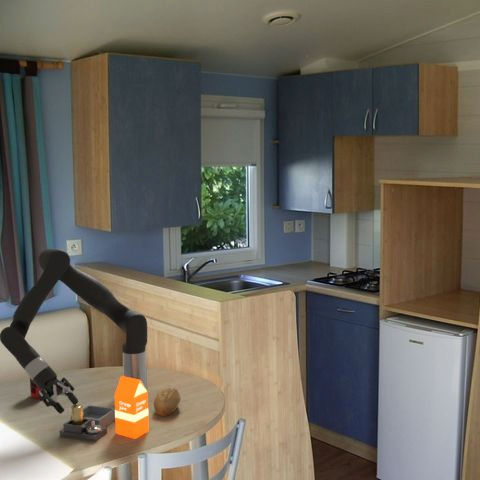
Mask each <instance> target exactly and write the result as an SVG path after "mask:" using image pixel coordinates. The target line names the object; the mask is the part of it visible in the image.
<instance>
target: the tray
mask: <svg viewBox="0 0 480 480" xmlns="http://www.w3.org/2000/svg"><path fill="white" fill-rule="evenodd" d="M83 414H84V418H87V419H92V421H95V425H100V426H101V427H107V426H109V425H110V424H112V423H113V422H114V421H115V407H114V408H113V407H107V406H100V405H93V404H88V405H87V406H84V407H83ZM70 418H71V419H72V415H71V417H70ZM71 419H70V420H71Z"/></svg>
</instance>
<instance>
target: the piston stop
mask: <svg viewBox="0 0 480 480" xmlns="http://www.w3.org/2000/svg"><path fill="white" fill-rule="evenodd" d="M83 408H84V405H83V404H79V403H77V404H76V405H73V404H72V405H71V409H70V410H71V416H72V425H79V426H81V425H82V424H84V414H83Z"/></svg>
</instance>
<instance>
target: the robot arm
mask: <svg viewBox="0 0 480 480" xmlns="http://www.w3.org/2000/svg"><path fill="white" fill-rule="evenodd" d="M38 264H39V267H40V268H41V270H43V272H42V273H41V275H40V277H39V279H38V280H37V281H36V283H34V285H33V286H32V287H31V288H30V289H29V290H28V292H27V293H26V294H25V295H24V296H23V297H22V299H21V300H20V302H19V304H18V305H17V307H16V309H15V311H14V313H13V315H12V322H11V323H10V326H6V327H4V328H3V329H1V331H0V343H1V344H2V346H3V347H5V349H6V350H7V351H8V352H10V354H11V355H12V356H13V357H14V358H15V360H16V361H17V362H18V364H19V365H20V367H21V368H23V370H24V371H25V373H26V374H27V376H28V377H29V379H30V378H31V379H32V381H33V382H34V383H35V384H36V385H37V387H38V388H39V389H42V390H41V391H40V392H39V393H38V395H39V397H40V398H41V399H40V400H42V403H44V405H45V406H46V408H47V407H48V408H49V407H53V408H54V409H55V411H56V412H57V413H59V414H60V415H61V414H63V413H64V412H65V408H64V407H63V406H62V404H61V403H60V402H59V401H58V399H57V398H58V396H65V397H67V399H68V400H69V401H70V402H71V404H72V406H73V405H78V404H79V399H78V398H77V397H76V395H75V394H74V390H75V389H76V388H75V387H74V386H73V385H72V384H71V383H70V382H69V380H67V378H65V377H62V378H61V379H60V380H59V379H58V378H57V377H58V374H57V373H56V372H55V371H54V369H53V368H52V367H51V366H50V365H49V364H48V362H47V361H46V360H45V359H43V357H42V356H41V355H40V354H39V353H38V352H37V351H36V349H35V348H34V347H33V346H32V345H30V344H29V342H28V341H27V340H26V336H27V334H28V331H29V329H30V326H31V325H32V323H33V321H34V319H35V318H36V315H37V314H38V313H39V310H40V309H41V307H42V305H43V303H44V302H45V300H46V299H47V297H48V295H50V292H51V291H52V290H53V289H54V287H55V286H56V285H57V283H58V281H59V282H61V283H63V284H64V285H65V286H67V287H68V288H69V290H71V291H72V292H73V293H74V294H75V295H77V296H78V297H79V298H80V299H82V301H84V302H85V303H86V304H88V305H89V306H90V307H92V308H93V309H95V310H97V311H98V312H99V313H101V314H103V315H105V316H106V317H108V318H109V319H110V320H111V321H112V322H113V323H114V324H115V325H116V326H117V327H118V328H119V329H120V330H121V331H122V332H124V333H125V338H126V339H125V342H124V343H123V344H122V350H121V351H122V369H123V370H122V371H123V374H122V376H125V377H130V378H134V379H139V380H140V381H141V382H142V384H143V385H144V387H145V388H146V390H147V391H148V370H147V369H148V368H147V354H146V353H147V352H146V346H147V344H148V322H147V318H146V317H145V316H144V315H143V314H142V313H140V312H137V311H136V310H132V309H130V308H129V307H128V306H126V305H124V304H122V303H121V302H120V301H119V300H118V299H117V298H116V297H115V296H114V294H113V293H112V291H110V289H109V288H107V287H106V286H105V285H104V284H103V283H101V281H99V280H98V279H96V278H95V277H93V276H91V275H89V274H88V273H85V272H83V271H82V270H80V269H78V268H76V267H75V266H73V265H72V264H71V257H70V255H69V253H68V252H67V251H66V250H64V249H60V248H47V249H45V250H43V251H41V252H40V254H39V257H38Z"/></svg>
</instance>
